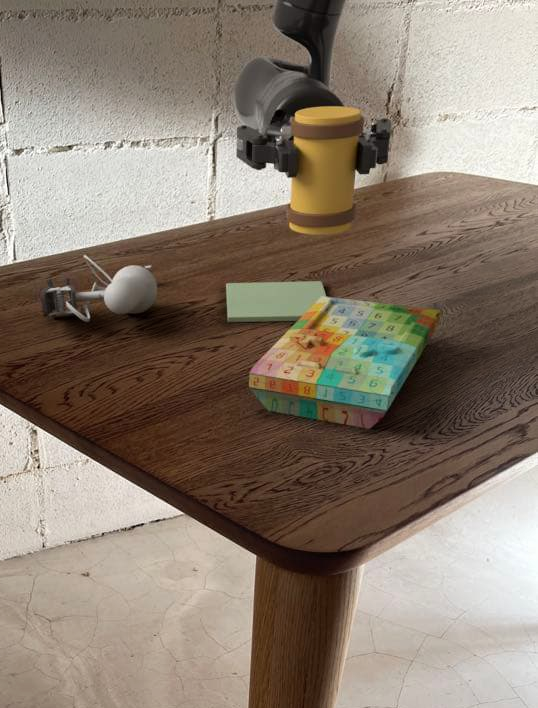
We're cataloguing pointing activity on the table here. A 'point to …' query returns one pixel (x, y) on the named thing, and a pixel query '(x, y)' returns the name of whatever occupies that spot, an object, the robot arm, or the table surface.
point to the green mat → (271, 300)
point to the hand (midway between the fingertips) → (330, 162)
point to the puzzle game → (343, 360)
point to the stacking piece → (324, 169)
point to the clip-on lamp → (105, 293)
